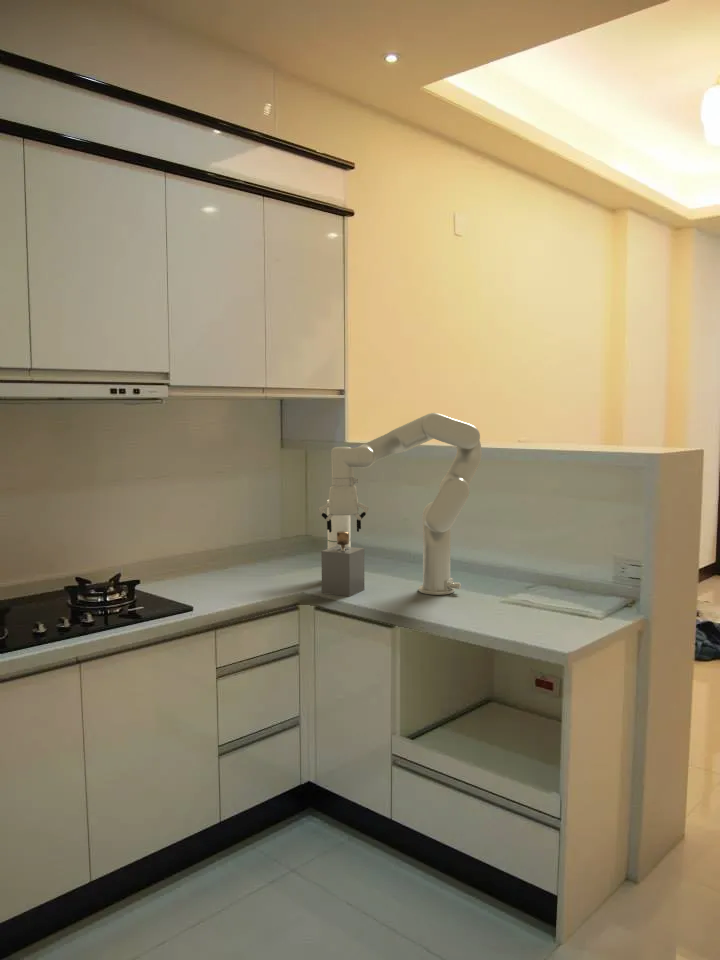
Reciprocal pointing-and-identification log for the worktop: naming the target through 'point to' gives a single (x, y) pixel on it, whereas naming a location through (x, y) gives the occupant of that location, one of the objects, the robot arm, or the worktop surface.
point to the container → (338, 528)
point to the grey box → (342, 571)
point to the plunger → (342, 539)
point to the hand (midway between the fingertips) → (344, 531)
